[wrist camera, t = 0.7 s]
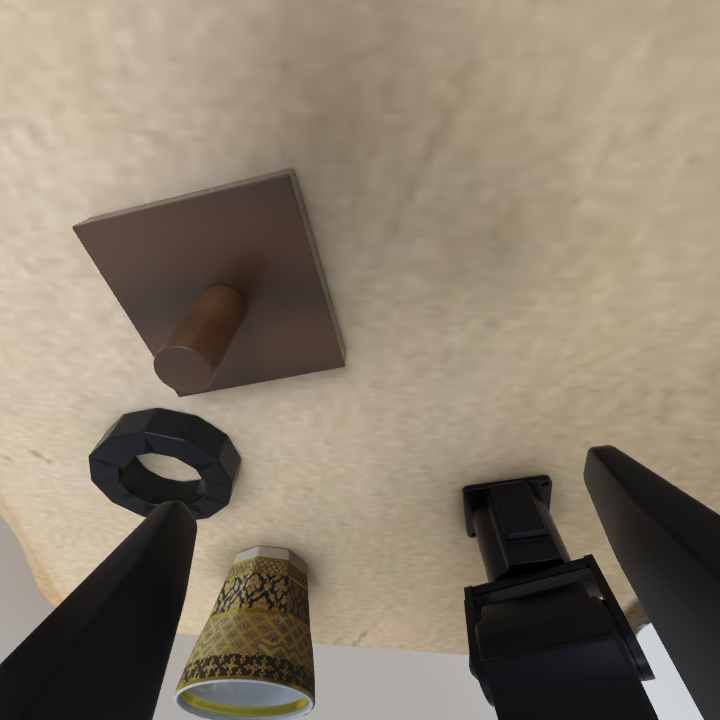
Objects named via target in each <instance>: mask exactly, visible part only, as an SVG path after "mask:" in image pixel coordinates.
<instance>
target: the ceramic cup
mask: <svg viewBox="0 0 720 720" xmlns="http://www.w3.org/2000/svg"><path fill="white" fill-rule="evenodd" d="M313 662H314V661H313V648H312V640H311V633H310V617H309V601H308V585H307V569H306V564H305V562H304V561H303V560H301V559H300V558H299V557H297V556H296V555H295V554H294V553H292V552H291V551H290V550H288V549H281V548H273V547H265V546H257V547H254V548H251V549H248V550H246V551H243V552H240V553H238V555H237V556H236V557H235V560H234V562H233V564H232V566H231V568H230V571H229V573H228V576H227V578H226V581H225V583H224V585H223V587H222V589H221V592H220V594H219V596H218V598H217V601H216V603H215V605H214V608H213V610H212V612H211V615H210V617H209V619H208V621H207V623H206V625H205V627H204V629H203V631H202V632H201V634H200V636H199V639H198V640H197V642H196V645H195V647H194V649H193V651H192V653H191V655H190V658H189V660H188V662H187V664H186V667H185V669H184V672H183V674H182V676H181V679H180V681H179V684H178V686H177V689H176V691H175V693H174V701H175V703H176V705H177V706H178V707H179V708H181V709H182V710H184V711H186V712H188V713H190V714H193V715H195V716H198V717H201V718H206V719H209V720H292V719H296V718H299V717H302V716H304V715H306V714H308V713H309V712H310V711H311V710H312V709H313V708H314V705H315V678H314V663H313Z"/></svg>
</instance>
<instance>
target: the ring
mask: <svg viewBox="0 0 720 720" xmlns="http://www.w3.org/2000/svg"><path fill="white" fill-rule="evenodd" d="M147 453H155V454H160V455H166V456H171V457H175V458H177V459H179V460H181V461H183V462H184V463H186V464H188V465H190V466H191V467H193V468H195V469H196V470H197V472H198V473H199V475H200V476H201V478H202V479H201V480H195V481H188V482H180V481H174V480H169V479H163V478H161V477H159V476H157V475H155V474H154V473H152V472H150V471H148V470H146V469H145V468H144V467H143V466H142V464H141V463H140V462H139V461H138V459H137V458H136V457H135V455H141V454H147ZM89 464H90V473H91V480H92V482H93V483H94V484H95V485H96V486H97V487H98V488H99V489H100V490H101V491H102V492H103V493H104V494H105V495H106V496H107V497H108V498H109V499H110V500H111V501H112V502H113V503H115V504H117V505H120V506H122V507H124V508H126V509H128V510H130V511H132V512H134V513H136V514H138V515H141V516H143V517H148V516H149V515H150V514H151V513H152V512H153V511H154V510H155V509H156V508H157V507H158V506H159V505H160V504H161V503H163V502H168V501H175V500H180V501H182V502H183V503H184V504H185V506H186V507H187V508H188V510H189V511H190V513H191V514H192V515H193V517H194V518H195V520H198V519H205V518H209V517H211V516H212V515H214V514H215V513H217V512H218V511H219V510H221V509H222V508H224V507H225V506H227V505H228V504H229V502H230V498H231V495H232V492H233V489H234V485H235V482H236V479H237V474H238V469H239V465H240V457H239V455H238V453H237V452H236V450H235V448H234V446H233V445H232V443H231V441H230V440H229V438H228V436H227V435H226V434H224V433H223V432H221V431H220V430H218V429H216V428H215V427H213V426H212V425H210V424H209V423H207V422H205V421H204V420H202V419H201V418H199V417H196V416H194V415H189V414H184V413H180V412H175V411H170V410H165V409H161V408H156V409H150V410H145V411H139V412H134V413H128V414H124V415H123V416H122V417H121V418H120V419H119V420H118V421H117V422H116V423H115V424H114V425H113V426H112V427H111V428H110V429H109V430H108V431H107V432H106V433H105V434H104V436H103V437H102V439H101V440H100V441H99V443H98V444H97V445H96V447H95V448H94V449H93V451H92V452H91V453H90V455H89Z"/></svg>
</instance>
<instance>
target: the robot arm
mask: <svg viewBox="0 0 720 720" xmlns="http://www.w3.org/2000/svg"><path fill="white" fill-rule="evenodd" d="M584 481H585V484H586V487H587V489H588V491H589V494H590V496H591V499H592V501H593V504H594V506H595V508H596V511H597V513H598V516H599V518H600V520H601V523H602V525H603V528H604V530H605V532H606V535H607V537H608V540H609V542H610V544H611V547H612V549H613V551H614V554H615V556H616V558H617V560H618V562H619V564H620V566H621V568H622V569H623V571H624V573H625V575H626V577H627V579H628V581H629V582H630V584H631V586H632V588H633V590H634V592H635V593H636V595H637V597H638V599H639V601H640V603H641V604H642V606H643V608H644V610H645V612H646V614H647V616H648V617H649V619H650V621H651V623H652V625H653V627H654V628H655V630H656V632H657V634H658V636H659V637H660V639H661V641H662V643H663V645H664V647H665V649H666V650H667V652H668V654H669V656H670V658H671V660H672V661H673V663H674V665H675V667H676V669H677V671H678V672H679V674H680V676H681V678H682V680H683V681H684V684H685V685H686V687H687V689H688V691H689V693H690V695H691V696H692V698H693V700H694V702H695V704H696V706H697V708H698V709H699V711H700V713H701V715H702V717H703V719H704V720H720V515H719V514H717V513H716V512H714V511H713V510H711V509H709V508H708V507H706V506H705V505H703V504H702V503H700V502H699V501H697V500H696V499H694V498H692V497H691V496H689V495H688V494H686V493H685V492H683V491H682V490H680V489H679V488H677V487H676V486H674V485H672V484H671V483H669V482H668V481H666V480H665V479H663V478H662V477H660V476H659V475H657V474H656V473H654V472H652V471H651V470H649V469H648V468H646V467H645V466H643V465H642V464H640V463H639V462H637V461H635V460H634V459H632V458H631V457H629V456H628V455H626V454H625V453H623V452H622V451H620V450H619V449H617V448H615V447H613V446H610V445H605V446H597V447H591V448H590V449H589V450H588V453H587V458H586V463H585V468H584ZM551 488H552V481H551V479H550V477H549V476H546V475H542V476H535V477H528V478H521V479H514V480H507V481H500V482H493V483H486V484H479V485H472V486H466V487H465V488H463V490H462V492H463V501H464V510H465V520H466V529H467V534H468V536H469V537H471V538H475V537H477V540H478V544H479V548H480V551H481V555H482V559H483V562H484V566H485V570H486V574H487V577H488V581H489V583H485V584H481V585H478V586H474V587H473V586H468V587H464V592H465V600H464V605H465V615H466V624H467V633H468V643H469V667H470V671H471V673H472V675H473V676H474V677H475V678H476V679H477V680H479V683H480V686H481V688H482V691H483V693H484V695H485V697H486V699H487V701H488V702H489V704H490V705H491V706H493V707H494V706H495V710H496V713H497V716H498V720H658V717H657V715H656V712H655V710H654V708H653V706H652V704H651V702H650V700H649V698H648V696H647V694H646V692H645V690H644V687H643V685H642V683H641V681H647V680H653V679H655V676H654V674H653V672H652V670H651V668H650V665H649V663H648V661H647V659H646V657H645V655H644V653H643V651H642V649H641V647H640V645H639V643H638V641H637V639H636V637H635V635H634V633H633V631H632V629H631V627H630V625H629V623H628V621H627V619H626V617H625V615H624V613H623V612H622V610H621V608H620V606H619V604H618V602H617V600H616V598H615V596H614V595H613V593H612V591H611V589H610V587H609V585H608V583H607V581H606V579H605V578H604V576H603V574H602V572H601V570H600V568H599V566H598V564H597V563H596V561H595V559H594V557H593V555H592V554H589V555H586V556H584V558H581V559H577V560H573V561H571V559H570V557H569V554H568V552H567V550H566V548H565V546H564V544H563V541H562V539H561V537H560V535H559V533H558V530H557V528H556V526H555V524H554V522H553V520H552V517H551V515H550V513H549V508H550V498H551ZM196 534H197V523H196V520H195V518H194V517H193V515H192V514H191V513H190V511H189V510H188V508H187V507H186V506H185V504H184V503H183V502H182V501H180V500H175V501H168V502H163V503H161V504H160V505H159V506H158V507H157V508H156V509H155V510H154V511H153V512H152V513H151V514H150V515H149V516H148V517H147V518H146V519H145V520H144V521H143V522H142V523H141V524H140V525H139V526H138V527H137V528H136V529H135V530H134V531H133V532H132V533H131V534H130V535H129V536H128V537H127V538H126V539H125V540H124V541H123V542H122V543H121V544H120V545H119V546H118V547H117V548H116V549H115V550H114V551H113V552H112V553H111V554H110V555H109V556H108V557H107V558H106V559H105V560H104V561H103V562H102V563H101V564H100V565H99V566H98V567H97V568H96V569H95V570H94V571H93V572H92V573H91V574H90V575H89V576H88V577H87V578H86V579H85V580H84V581H83V582H82V583H81V584H80V585H79V586H78V587H77V588H76V589H75V590H74V591H73V592H72V593H71V594H70V595H69V596H68V597H67V598H66V599H65V600H64V601H63V602H62V603H61V604H60V605H59V606H58V607H57V608H56V609H55V610H54V611H53V612H52V613H51V614H50V615H49V616H48V617H47V618H46V619H45V620H44V621H43V622H42V623H41V624H40V625H39V626H38V627H37V628H36V629H35V630H34V631H33V632H32V633H31V634H30V635H29V636H28V637H27V638H26V639H25V640H24V641H23V642H22V643H21V644H20V645H19V646H18V647H17V648H16V649H15V650H14V651H13V652H12V653H11V654H10V655H9V656H8V657H7V658H6V659H5V660H4V661H3V662H2V663H1V664H0V720H152V719H153V715H154V712H155V708H156V704H157V701H158V697H159V693H160V690H161V685H162V682H163V679H164V675H165V671H166V667H167V663H168V660H169V657H170V653H171V649H172V646H173V642H174V638H175V635H176V631H177V627H178V624H179V620H180V616H181V613H182V609H183V605H184V601H185V596H186V591H187V586H188V580H189V575H190V569H191V563H192V557H193V551H194V546H195V540H196ZM598 597H602V598H603V600H601V599H600V598H598Z"/></svg>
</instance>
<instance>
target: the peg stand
mask: <svg viewBox="0 0 720 720" xmlns="http://www.w3.org/2000/svg"><path fill="white" fill-rule="evenodd" d="M72 228H73V230H74V231H75V233H76V235H77V236H78V238H79V239H80V241H81V243H82V244H83V246H84V247H85V249H86V250H87V252H88V254H89V255H90V257H91V258H92V260H93V261H94V263H95V265H96V266H97V268H98V269H99V271H100V273H101V274H102V276H103V277H104V279H105V280H106V282H107V284H108V285H109V287H110V288H111V290H112V292H113V293H114V295H115V296H116V298H117V299H118V301H119V303H120V304H121V306H122V307H123V309H124V310H125V312H126V314H127V315H128V317H129V318H130V320H131V322H132V323H133V325H134V326H135V328H136V329H137V331H138V333H139V334H140V336H141V337H142V339H143V341H144V342H145V344H146V345H147V347H148V348H149V350H150V352H151V353H152V355H153V356H154V369H155V372H156V374H157V376H158V377H159V378H160V379H161V381H163V382H164V383H165V384H166V385H168V386H169V387H171V388H173V389H174V390H175V391H176V393H177V394H178V396H179V397H182V396H188V395H193V394H199V393H204V392H210V391H215V390H221V389H226V388H231V387H237V386H242V385H248V384H253V383H259V382H264V381H270V380H275V379H281V378H286V377H292V376H297V375H302V374H308V373H313V372H319V371H324V370H330V369H335V368H341V367H345V366H346V350H345V346H344V343H343V339H342V336H341V332H340V329H339V325H338V322H337V318H336V315H335V311H334V308H333V304H332V301H331V297H330V294H329V290H328V287H327V283H326V280H325V276H324V273H323V269H322V266H321V262H320V259H319V255H318V252H317V248H316V245H315V241H314V238H313V234H312V231H311V228H310V224H309V221H308V217H307V214H306V210H305V207H304V203H303V200H302V196H301V193H300V189H299V186H298V182H297V179H296V175H295V172H294V169H293V168H290V169H286V170H282V171H278V172H274V173H270V174H266V175H262V176H258V177H254V178H250V179H246V180H242V181H238V182H234V183H230V184H226V185H222V186H218V187H214V188H210V189H206V190H201V191H197V192H193V193H189V194H185V195H181V196H177V197H173V198H169V199H165V200H161V201H157V202H153V203H149V204H145V205H141V206H137V207H133V208H129V209H125V210H121V211H117V212H113V213H109V214H105V215H101V216H97V217H93V218H89V219H87V220H85V221H83V222H81V223H79V224H77V225H75V226H73V227H72Z"/></svg>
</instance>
